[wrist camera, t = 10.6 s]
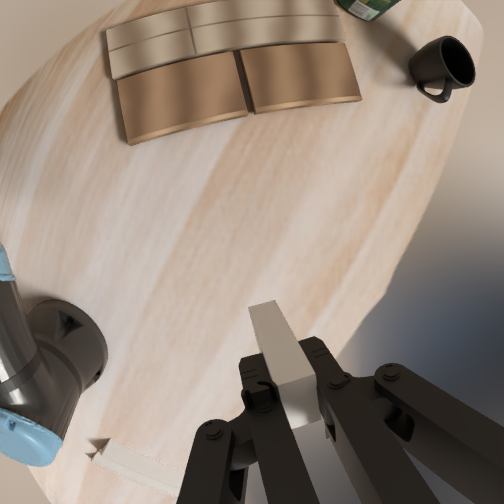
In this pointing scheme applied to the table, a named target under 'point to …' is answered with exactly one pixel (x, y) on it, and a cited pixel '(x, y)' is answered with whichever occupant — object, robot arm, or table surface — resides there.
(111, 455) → the crown molding
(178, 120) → the plank
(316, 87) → the plank
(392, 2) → the coffee jar
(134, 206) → the table surface
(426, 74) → the mug
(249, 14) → the laid row
